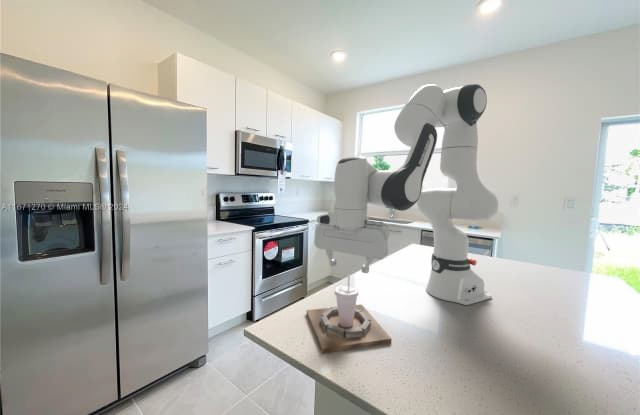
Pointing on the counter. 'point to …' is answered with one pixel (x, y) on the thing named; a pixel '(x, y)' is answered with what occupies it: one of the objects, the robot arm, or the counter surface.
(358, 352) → the counter surface
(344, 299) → the smoothie
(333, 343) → the socket
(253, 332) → the counter surface
